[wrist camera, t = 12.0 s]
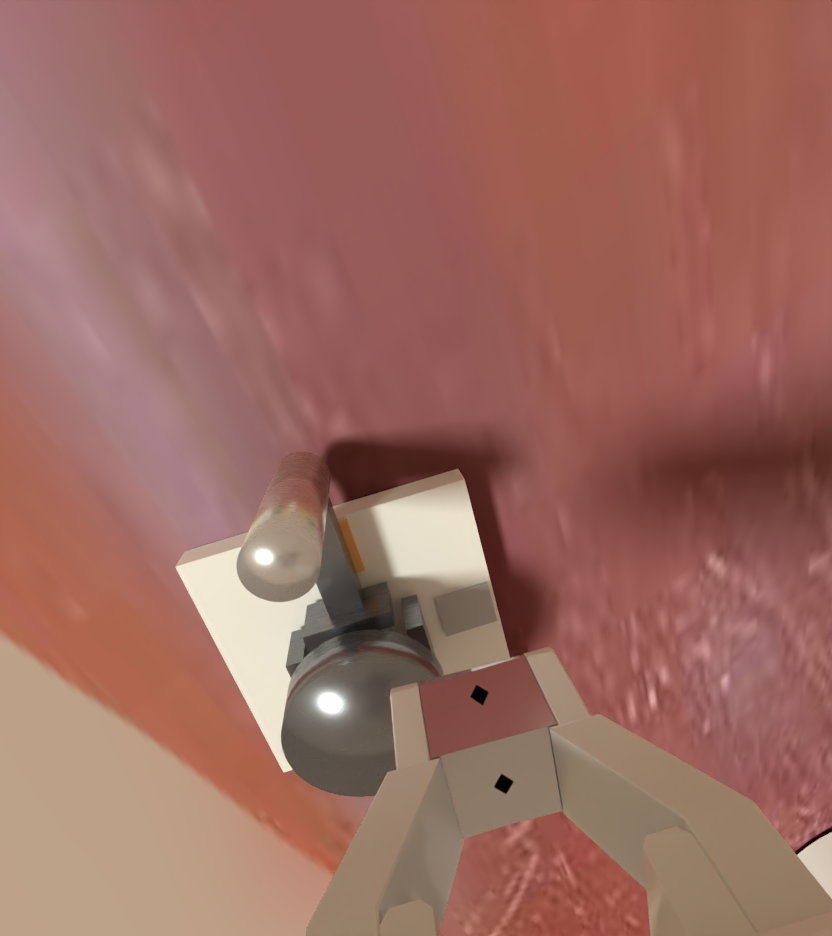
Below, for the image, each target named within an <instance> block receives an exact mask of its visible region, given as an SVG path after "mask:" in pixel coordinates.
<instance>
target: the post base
mask: <svg viewBox="0 0 832 936" xmlns="http://www.w3.org/2000/svg"><path fill="white" fill-rule="evenodd" d="M333 509H334V512H335V515H336V517H337V520H338V523H339V526H340V528H341V531H342V534H343V537H344V539H345V542H346V545H347V548H348V550H349V553H350V556H351V559H352V561H353V564H354V567H355V570H356V573H357V575H358V578H359V581H360V584H361V586H362V589H363V588H366V587H370V586H373V585H376V584H380V583H383V582H387V585H388V588H389V591H390V593H391V599H392V607H393V614H394V622H395V626H392V627H389V628H385V629H382V630H387V631H392V632H397V633H400V634H403V635H406V636H408V635H407V632H406V627H405V621H404V615H403V609H402V603H401V599H402V598H406V597H409V596H412V595H417V598H418V601H419V604H420V607H421V610H422V614H423V617H424V620H425V623H426V626H427V629H428V633H429V636H430V639H431V642H432V645H433V648H434V652H435V655H436V658H437V659H438V661H439V663H440V664H441V667H442V669H443V672H444V675H447V674H451V673H455V672H460V671H464V670H468V669H471V668H475V667H478V666H482V665H486V664H489V663H493V662H496V661H500V660H504V659H507V658H510V655H509V651H508V647H507V644H506V640H505V636H504V632H503V628H502V624H501V620H500V616H499V612H498V608H497V604H496V600H495V596H494V593H493V589H492V585H491V581H490V577H489V573H488V569H487V565H486V561H485V557H484V553H483V549H482V545H481V542H480V538H479V534H478V530H477V526H476V522H475V518H474V514H473V510H472V506H471V502H470V498H469V494H468V491H467V487H466V483H465V479H464V477H463V476H462V474H461V472H460V471H459V469H455V470H451V471H448V472H445V473H441V474H438V475H435V476H432V477H428V478H425V479H422V480H418V481H415V482H412V483H408V484H405V485H402V486H398V487H395V488H392V489H389V490H385V491H382V492H379V493H375V494H372V495H369V496H365V497H362V498H359V499H355V500H352V501H349V502H346V503H342V504H339V505H336V506H333ZM247 534H248V532H246V533H243V534H240V535H236V536H233V537H230V538H227V539H223V540H220V541H217V542H213V543H210V544H207V545H203V546H200V547H197V548H193V549H190V550H187V551H185V553H184V554H183V556H182V557H181V559H180V560H179V562H178V563H177V565H176V566H175V567H176V569H177V571H178V573H179V575H180V577H181V579H182V581H183V582H184V584H185V586H186V588H187V590H188V592H189V594H190V596H191V598H192V600H193V601H194V603H195V605H196V607H197V609H198V611H199V613H200V615H201V617H202V619H203V620H204V622H205V624H206V626H207V628H208V630H209V632H210V634H211V636H212V638H213V639H214V641H215V643H216V645H217V647H218V649H219V651H220V653H221V655H222V657H223V658H224V660H225V662H226V664H227V666H228V668H229V670H230V672H231V674H232V675H233V677H234V679H235V681H236V683H237V685H238V687H239V689H240V691H241V693H242V694H243V696H244V698H245V700H246V702H247V704H248V706H249V708H250V710H251V712H252V713H253V715H254V717H255V719H256V721H257V723H258V725H259V727H260V729H261V731H262V732H263V734H264V736H265V738H266V740H267V742H268V744H269V746H270V748H271V750H272V751H273V753H274V755H275V757H276V759H277V761H278V763H279V765H280V767H281V769H282V770H283V772H287V771H290V770H293V769H292V768H291V766H290V765H289V763H288V761H287V760H286V758H285V755H284V753H283V749H282V744H281V730H282V723H283V717H284V711H285V704H286V698H287V692H288V686H289V683H290V680H291V677H290V675H289V673H288V671H287V669H286V661H287V655H288V650H289V644H290V639H291V633H292V632H293V631H297V630H300V629H303V628H304V623H305V616H306V609H307V605H310V604H313V603H316V602H320V601H323V599H322V597H321V594H320V592H319V589H318V587H317V584H315V585H314V587H313V588H312V589H311V590H310V591H309V592H308V593H306V594H305V595H303V596H302V597H300V598H297V599H295V600H291V601H287V602H271V601H267V600H264V599H261V598H259V597H256V596H255V595H253V594H252V593H250V592H249V591H248V590H247V589H246V588H245V587H244V586H243V584H242V583H241V581H240V579H239V577H238V574H237V567H236V564H237V558H238V555H239V552H240V550H241V548H242V545H243V543H244V541H245V539H246V536H247Z"/></svg>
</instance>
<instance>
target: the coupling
mask: <svg viewBox="0 0 832 936" xmlns="http://www.w3.org/2000/svg"><path fill="white" fill-rule="evenodd" d="M330 481H331V476H330V471H329V469H328V467H327V465H326V463H325V462H324V461H323V460H322V459H321V458H319V457H318V456H316V455H314V454H311V453H308V452H296V453H292V454H290V455H288V456H286V457H285V458H283V459H282V460H281V461H280V462H279V464H278V466H277V468H276V470H275V472H274V475H273V477H272V479H271V481H270V484H269V486H268V488H267V491H266V493H265V495H264V497H263V500H262V502H261V504H260V507H259V509H258V511H257V513H256V516H255V518H254V520H253V523H252V525H251V527H250V529H249V532H248V534H247V536H246V539H245V541H244V543H243V545H242V548H241V550H240V552H239V555H238V558H237V564H236V567H237V574H238V577H239V579H240V581H241V583H242V584H243V586H244V587H245V588H246V589H247V590H248V591H249V592H250V593H252V594H253V595H255V596H256V597H259V598H261V599H264V600H267V601H271V602H287V601H291V600H295V599H297V598H300V597H302V596H303V595H305V594H306V593H308V592H309V591H310V590H311V589H312V588H313V587H314V585H315V584H317V587H318V589H319V592H320V594H321V597H322V599H323V601H320V602H316V603H313V604H310V605H307V609H306V616H305V623H304V628H303V629H300V630H297V631H293V632H292V633H291V639H290V644H289V650H288V655H287V661H286V669H287V671H288V673H289V675H290V677H291V680H290V683H289V686H288V692H287V698H286V704H285V711H284V717H283V723H282V730H281V744H282V749H283V753H284V755H285V758H286V760H287V761H288V763H289V765H290V766H291V768H292V769H293V770H294V771H295V772H296V774H298V775H299V776H300V777H301V778H302V779H303V780H305V781H306V782H308V783H309V784H311V785H313V786H315V787H317V788H319V789H321V790H324V791H327V792H330V793H334V794H338V795H344V796H358V797H363V796H374V795H376V794H377V792H378V790H379V788H380V786H381V784H382V782H383V780H384V778H385V776H386V774H387V773H388V772H390V771H393V770H396V760H395V749H394V737H393V725H392V714H391V702H390V693H391V688H396V687H400V686H404V685H408V684H413V683H417V682H418V683H419V681H422V680H426V679H430V678H435V677H439V676H443V675H444V672H443V669H442V667H441V664H440V663H439V661H438V659H437V658H436V655H435V652H434V648H433V645H432V642H431V639H430V636H429V633H428V629H427V626H426V623H425V620H424V617H423V614H422V610H421V607H420V604H419V601H418V598H417V595H412V596H409V597H406V598H402V599H401V603H402V609H403V615H404V621H405V627H406V632H407V635H408V636H406V635H403V634H400V633H397V632H392V631H387V630H382V629H385V628H389V627H392V626H395V622H394V614H393V607H392V599H391V593H390V591H389V588H388V585H387V582H383V583H380V584H376V585H373V586H370V587H366V588H363V589H362V586H361V584H360V581H359V578H358V575H357V573H356V570H355V567H354V564H353V561H352V559H351V556H350V553H349V550H348V548H347V545H346V542H345V539H344V537H343V534H342V531H341V528H340V526H339V523H338V520H337V517H336V515H335V512H334V509H333V506H332V503H331V501H330V498H329V489H330Z"/></svg>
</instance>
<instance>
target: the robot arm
mask: <svg viewBox="0 0 832 936" xmlns="http://www.w3.org/2000/svg"><path fill="white" fill-rule="evenodd" d="M390 702H391V714H392V725H393V737H394V749H395V760H396V770H393V771H390V772H388V773H387V774H386V776H385V778H384V780H383V782H382V784H381V786H380V788H379V790H378V792H377V794H376V796H375V797H374V799H373V801H372V803H371V805H370V807H369V809H368V811H367V813H366V815H365V817H364V819H363V821H362V822H361V824H360V826H359V828H358V830H357V832H356V834H355V836H354V838H353V840H352V842H351V844H350V845H349V847H348V849H347V851H346V853H345V855H344V857H343V859H342V861H341V863H340V865H339V867H338V869H337V870H336V872H335V874H334V876H333V878H332V880H331V882H330V884H329V886H328V888H327V890H326V892H325V893H324V896H323V897H322V899H321V901H320V903H319V905H318V907H317V909H316V911H315V913H314V915H313V917H312V919H311V920H310V922H309V924H308V926H307V931H306V936H442V935H441V932H440V930H441V926H442V922H443V919H444V915H445V911H446V907H447V904H448V900H449V896H450V892H451V889H452V885H453V881H454V877H455V874H456V870H457V866H458V862H459V859H460V855H461V851H462V847H463V844H464V842H463V839H465V838H468V837H471V836H474V835H477V834H481V833H484V832H487V831H490V830H493V829H496V828H500V827H503V826H506V825H509V824H512V823H516V822H520V821H525V820H529V819H533V818H537V817H541V816H545V815H549V814H553V813H557V812H561V811H563V812H564V814H565V815H566V816H567V817H568V818H569V819H570V820H571V821H572V822H573V823H574V824H575V825H576V826H578V827H579V828H580V829H581V830H582V831H583V832H584V833H585V834H586V835H587V836H588V837H589V838H591V839H592V840H593V841H594V842H595V843H596V844H597V845H598V846H599V847H600V848H601V849H602V850H603V851H605V852H606V853H607V854H608V855H609V856H610V857H611V858H612V859H613V860H614V861H615V862H616V863H618V864H619V865H620V866H621V867H622V868H623V869H624V870H625V871H626V872H627V873H628V874H629V875H631V876H632V877H633V878H634V879H635V880H636V881H637V882H638V883H639V884H640V885H641V886H642V887H644V888H645V889H646V890H647V900H648V911H649V923H650V935H651V936H832V832H831V833H829V834H827V835H825V836H823V837H822V838H820V839H818V840H817V841H815V842H813V843H812V844H811V845H809V846H808V847H806V848H805V849H804V850H802V851H801V852H800V853H799V854H798V855H796V854H795V852H794V851H793V850H792V849H791V847H790V846H789V845H788V844H787V842H786V841H785V840H784V839H783V837H782V836H781V835H780V834H779V832H778V831H777V830H776V829H775V827H774V826H773V825H772V824H771V822H770V821H769V820H768V819H767V817H766V816H765V815H764V814H763V812H762V811H761V810H760V809H759V807H758V806H757V805H756V804H755V802H754V801H752V800H750V799H748V798H747V797H745V796H743V795H741V794H740V793H738V792H736V791H734V790H733V789H731V788H729V787H727V786H725V785H724V784H722V783H720V782H718V781H717V780H715V779H713V778H711V777H710V776H708V775H706V774H704V773H703V772H701V771H699V770H697V769H696V768H694V767H692V766H690V765H689V764H687V763H685V762H683V761H682V760H680V759H678V758H676V757H675V756H673V755H671V754H669V753H668V752H666V751H664V750H662V749H661V748H659V747H657V746H655V745H654V744H652V743H650V742H648V741H647V740H645V739H643V738H641V737H640V736H638V735H636V734H634V733H633V732H631V731H629V730H627V729H626V728H624V727H622V726H620V725H619V724H617V723H615V722H613V721H612V720H610V719H608V718H606V717H605V716H603V715H601V714H598V715H594V716H591V714H590V713H589V711H588V709H587V707H586V706H585V704H584V702H583V700H582V699H581V697H580V695H579V693H578V692H577V690H576V688H575V687H574V685H573V683H572V681H571V680H570V678H569V676H568V674H567V673H566V671H565V669H564V667H563V666H562V664H561V662H560V661H559V659H558V657H557V655H556V654H555V652H554V650H553V649H552V648H550V647H545V648H542V649H538V650H535V651H531V652H528V653H524V654H523V655H518V656H514V657H511V658H507V659H504V660H500V661H496V662H493V663H489V664H486V665H482V666H478V667H475V668H471V669H468V670H464V671H460V672H455V673H451V674H447V675H443V676H439V677H435V678H430V679H426V680H422V681H419V683H418V682H417V683H413V684H408V685H404V686H400V687H396V688H391V693H390Z"/></svg>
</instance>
